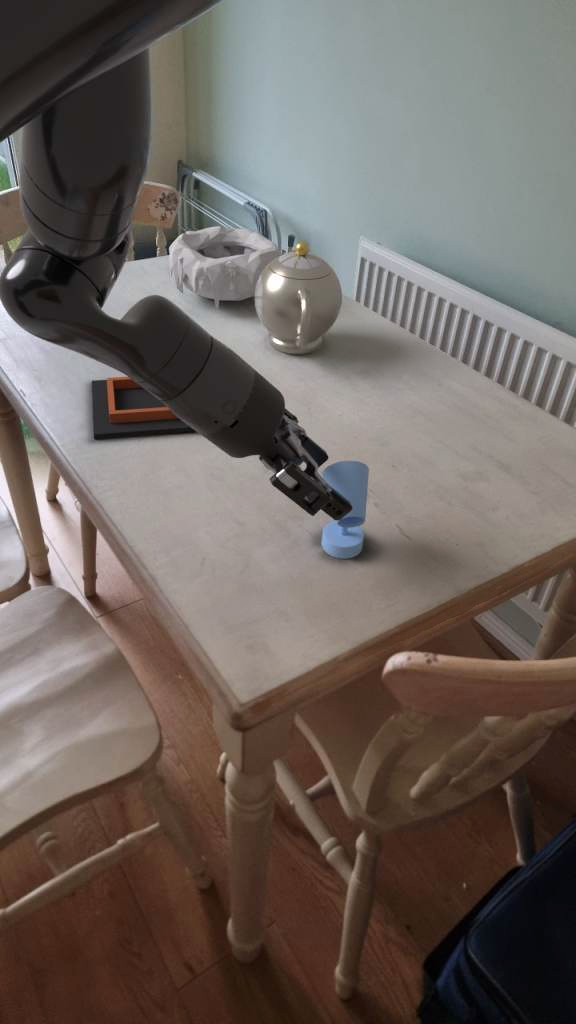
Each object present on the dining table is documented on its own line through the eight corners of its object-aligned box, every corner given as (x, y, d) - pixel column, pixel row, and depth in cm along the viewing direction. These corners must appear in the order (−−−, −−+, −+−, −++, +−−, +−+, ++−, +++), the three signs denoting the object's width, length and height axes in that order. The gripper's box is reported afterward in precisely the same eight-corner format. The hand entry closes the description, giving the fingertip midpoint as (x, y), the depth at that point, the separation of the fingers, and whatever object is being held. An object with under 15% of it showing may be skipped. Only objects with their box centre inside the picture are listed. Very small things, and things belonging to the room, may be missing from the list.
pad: (94, 439, 89) (91, 424, 87) (92, 385, 99) (90, 370, 98) (218, 430, 92) (218, 415, 91) (203, 378, 102) (203, 364, 101)
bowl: (155, 279, 130) (151, 224, 124) (256, 269, 137) (258, 216, 131) (187, 326, 116) (185, 266, 109) (299, 312, 123) (303, 255, 116)
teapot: (250, 323, 118) (253, 224, 107) (329, 324, 119) (339, 226, 109) (257, 375, 104) (261, 267, 94) (346, 375, 106) (359, 269, 95)
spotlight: (314, 521, 79) (323, 564, 74) (322, 449, 72) (332, 489, 67) (357, 521, 79) (369, 562, 74) (369, 449, 73) (382, 489, 68)
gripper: (183, 385, 68) (290, 469, 77) (202, 471, 57) (324, 555, 67) (237, 332, 65) (340, 425, 75) (268, 410, 55) (384, 507, 65)
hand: (332, 486), depth 71 cm, fingers open, 8 cm apart
